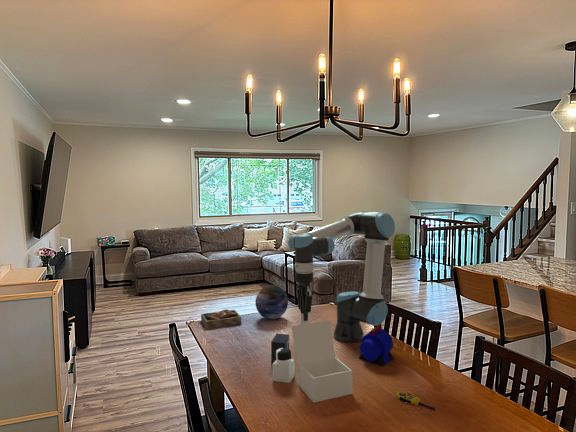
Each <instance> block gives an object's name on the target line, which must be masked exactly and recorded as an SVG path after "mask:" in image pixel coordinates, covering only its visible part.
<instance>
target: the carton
mask: <svg viewBox="0 0 576 432" xmlns="http://www.w3.org/2000/svg"><path fill="white" fill-rule="evenodd" d="M297 373H298V375H297V376H298V377H297V378H298V382H297V383H298V387H299V388H300V389H301V391H303V393H304V394H305V395H306V396H307V397H308V399H309V400H310V401H311V402H312V403H318V402H322V401H328V400H331V399H335V398H340V397H346V396H349V395H353V370H352V369H351V368H349V367H348V366H347V365H346V364H344V363H343V362H342V361H341V360H340V359H339V358H337V357H336V356H335V357H330V358H324V359H319V360H313V361H308V362H302V363H297Z"/></svg>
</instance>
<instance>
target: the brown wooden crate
mask: <svg viewBox="0 0 576 432" xmlns="http://www.w3.org/2000/svg"><path fill="white" fill-rule="evenodd" d="M214 312H215V313H213V314H208V315H205V317H207V321H209V320H219V319H225V318H232V317H237V313H238V312H237V313H235V312H232V311H230V309H223V310H221V311H214Z"/></svg>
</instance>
